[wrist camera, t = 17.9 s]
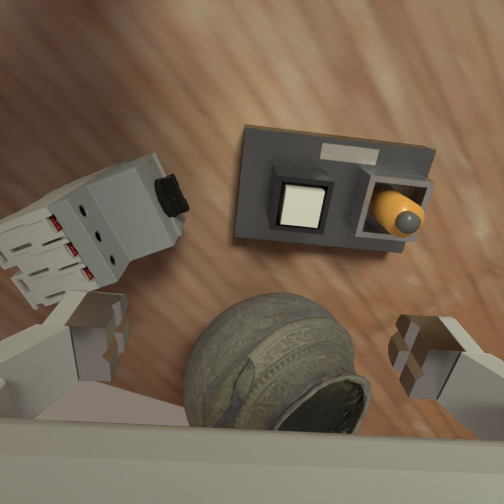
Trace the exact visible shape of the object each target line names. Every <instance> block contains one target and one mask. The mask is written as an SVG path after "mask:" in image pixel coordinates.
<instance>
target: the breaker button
mask: <svg viewBox="0 0 504 504" xmlns="http://www.w3.org/2000/svg"><path fill="white" fill-rule="evenodd" d="M324 194H325V191H324V190H323V189H322V187H321V186H320V185H311V184H301V183H292V182H283V181H282V186H281V193H280V199H279V206H278V216H279V220H280V224H284V225H294V226H304V227H314V228H317V227H318V222H319V217H320V213H321V208H322V203H323V198H324Z"/></svg>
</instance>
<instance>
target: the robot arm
mask: <svg viewBox="0 0 504 504" xmlns="http://www.w3.org/2000/svg"><path fill="white" fill-rule="evenodd" d="M127 308H128V297H127V295H126V294H120V293H109V292H98V291H87V290H70V291H68V293H67V294H66V295H65V296H64V298H63V299H62V300H61V301H60V302H59V304H58V305H57V306H56V307H55V309H54V310H53V311H52V312H51V314H50V315H49V316H48V317H47V319H46V320H45V321H44V322H43V324H42V325H39V324H36V325H33V326H31V327H29V328H27V329H25V330H23V331H21V332H19V333H16V334H14V335H12V336H10V337H8V338H6V339H4V340H1V341H0V504H504V361H502V360H500V359H498V358H497V357H495V356H493V355H491V354H487V353H484V352H483V351H482V350H481V348H480V347H479V346H478V345H477V344H476V343H475V341H474V340H473V339H472V338H471V337H470V336H469V335H468V333H467V332H466V331H465V330H464V329H463V328H462V326H461V325H460V324H459V323H458V322H457V321H456V320H455V319H454V318H452V317H450V316H422V315H406V314H401V315H400V316H399V318H398V319H397V322H396V327H397V329H398V331H397V332H396V333H395V334H394V335H392V336H391V338H390V342H389V345H388V355H389V359H390V362H391V364H392V366H393V368H395V369H396V370H397V371H398V372H400V373H401V375H400V378H399V380H400V382H401V384H402V386H403V388H404V390H405V392H406V393H407V395H408V397H409V398H419V399H431V400H438V401H437V402H439V403H440V404H441V405H442V406H443V407H444V408H445V409H446V410H447V411H448V412H450V413H451V414H452V415H453V416H454V417H455V418H456V419H457V420H458V421H459V422H461V423H462V424H463V425H464V426H465V427H466V428H467V429H468V430H469V431H470V432H472V433H473V434H474V435H475V436H476V437H477V438H478V439H479V440H465V439H442V438H422V437H401V436H381V435H360V434H340V433H318V432H296V431H274V430H252V429H231V428H209V427H187V426H165V425H144V424H123V423H101V422H79V421H58V420H57V421H56V420H37V419H34V418H35V417H36V416H37V415H39V414H40V413H41V412H42V411H43V410H45V409H46V408H47V407H48V406H50V405H51V404H52V403H53V402H55V401H56V400H57V399H58V398H59V397H61V396H62V395H63V394H64V393H66V392H67V391H68V390H69V389H71V388H72V387H73V386H74V385H75V384H77V383H78V380H82V381H111V380H112V378H113V376H114V374H115V371H116V369H117V367H118V364H119V354H121V353H122V352H123V351H124V350H125V348H126V345H127V342H128V337H129V330H130V322H129V318H128V317H127V316H126V315H125V313H126V311H127Z"/></svg>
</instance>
